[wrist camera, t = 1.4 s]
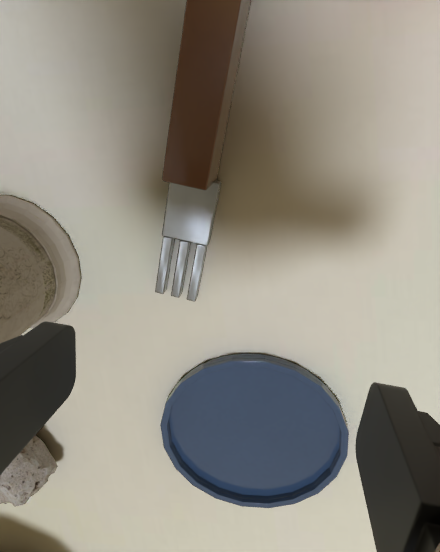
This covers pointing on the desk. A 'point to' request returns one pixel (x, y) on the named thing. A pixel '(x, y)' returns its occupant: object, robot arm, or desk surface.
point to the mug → (33, 268)
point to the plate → (255, 430)
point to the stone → (26, 473)
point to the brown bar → (199, 132)
